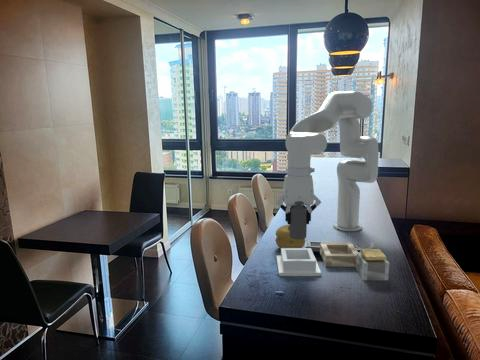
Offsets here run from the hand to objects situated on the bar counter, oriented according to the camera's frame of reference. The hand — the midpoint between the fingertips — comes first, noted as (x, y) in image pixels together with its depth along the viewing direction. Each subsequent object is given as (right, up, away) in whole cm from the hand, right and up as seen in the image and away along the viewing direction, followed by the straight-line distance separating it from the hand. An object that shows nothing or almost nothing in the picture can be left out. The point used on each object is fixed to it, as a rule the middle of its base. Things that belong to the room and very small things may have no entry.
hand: (298, 222), depth 121 cm
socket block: (+19, -16, +4) cm, 25 cm away
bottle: (0, -5, +1) cm, 5 cm away
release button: (+24, -15, -4) cm, 29 cm away
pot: (0, -13, +19) cm, 23 cm away
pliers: (+28, -13, +17) cm, 35 cm away
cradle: (0, -16, +3) cm, 16 cm away
